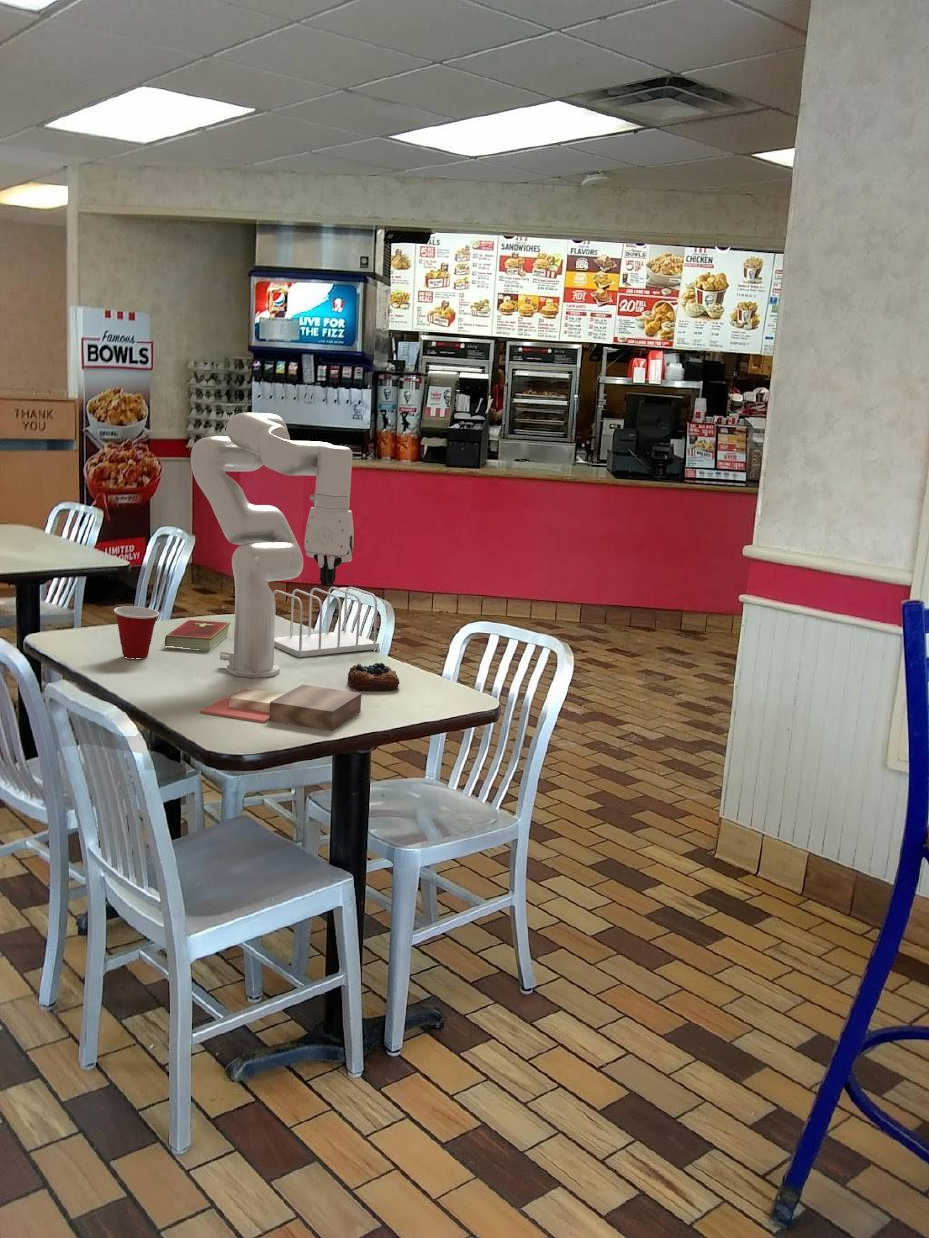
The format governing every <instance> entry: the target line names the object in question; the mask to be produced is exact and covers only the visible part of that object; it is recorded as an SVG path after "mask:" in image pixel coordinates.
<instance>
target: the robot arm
mask: <svg viewBox="0 0 929 1238" xmlns="http://www.w3.org/2000/svg"><path fill="white" fill-rule="evenodd" d="M225 431H226V435H227V436H226V435H225V436H223V435H221V436H220V435H214V436H213V435H212V436H206V437H203V438H202V437H201V438H200V439H198V440H197V441H196V442H195V443H194V445H193V446H192V449H191V451H190V465H191V466H190V467H191V471H192V474H193V476H194V479H195V482H196V483H197V485H198V486H199V488H200V489H201V492H202V493H203V494H204V496H205V497H206V499H207V500H208V502H209V504H210V506H211V508H212V511H213V514H214V516H215V517H216V519H217V522H218V524H219V526H220V528H221V530H222V533H223V534H224V536H225V538H226V539H227V541H228V542H229V543H231V544H233V545H238V547H237V548H236V549H235V550H234V552H233V554H232V557H231V567H232V572H233V573H232V574H233V579H234V587H235V588H234V590H235V591H234V593H235V594H234V595H235V596H234V597H235V598H234V600H235V601H234V631H233V635H234V637H233V650H232V652H231V651H228V650H221V651H220V653H219V660H221V661H227V662H228V663H229V664H228V665H227V666H226V672H227V673H228V674H230V675H232V676H235V677H236V676H237V677H242V678H249V679H250V678H254V679H255V678H256V679H257V678H259V679H260V678H270V677H274V676H276V675H279V674H280V666H279V665H277V664H275V663H274V660H275V659H274V656H275V655H274V653H275V647H274V638H275V633H276V632H275V631H276V630H275V629H276V598H275V596H274V594H273V591H272V589H271V588H270V585H269V583H270V582H277V581H278V582H279V581H288V580H293V579H296V578H297V577H299V576H300V575H301V573H302V572H303V569H304V556H303V553H302V550H301V547H300V545H299V542H298V541H297V539H296V536H295V534H294V533H293V530H292V529H291V527H290V524H289V521H288V520H287V518H286V517H285V515H284V513H283V512H282V511H281V510H280V509H279V508H277V507H276V506H273V505H269V504H258V505H257V504H253V503H250V502H249V500H248V498H247V497H246V495H245V493H244V490H243V488H242V487H241V486H240V484H239V483H238V482H237V481H236V480H235V479H234V478H232V477H231V476H230V475H228V474H227V473H226V472H244V473H246V472H253V471H256V470H259V469H260V468H262V466H264V467H266V468H267V469H270V470H272V471H274V472H277V473H279V474H282V475H285V476H291V477H292V476H297V477H298V476H304V477H305V476H306V477H307V476H310V477H315V478H316V479H315V491H314V494H311V495H310V496H309V501H310V502H313V505H314V506H310V510H309V514H308V518H307V522H306V528H305V534H304V543H303V544H304V545H303V546H304V547H303V548H304V550H305V555H306V557H308V558H310V559H311V558H312V559H314V561H316V563H317V565H318V567H319V569H320V570H319V572H320V573H319V581H320V586H321V587H324V586H325V587H327V588H328V587H329V588H330V587H333V586H334V584H335V582H336V572H337V571H336V570H337V568H338V567H339V566H340V565H341V564H342V563H349V562H351V561H352V560H353V555H352V553H353V551H354V541H355V540H354V538H355V537H354V520H353V512H352V510H350V501H351V499H350V498H351V484H352V469H353V451H352V449H351V448H350V447H347V446H343V445H334V444H332V443H329V442H326V441H325V442H323V441H311V440H291V438H290V434H289V433H290V432H289V431H288V427H287V424H286V422H285V421H284V419H283V418H282V417H280V416H279V415H277V414H274V413H266V412H265V413H264V412H240V413H239V412H238V413H237V414H235V415H233V416H232V417H231V418H230V419H229V420H228V422H227V423H226V430H225Z"/></svg>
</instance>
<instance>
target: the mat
mask: <svg viewBox="0 0 929 1238" xmlns="http://www.w3.org/2000/svg"><path fill="white" fill-rule="evenodd" d="M245 689H246V688H243V689H241V690H239V691H237V692H235V693H233V694H230V695H229V696H227V697H225V698H223V699H221V700H218V701H217V702H215V703H212V704H211V705H208V706H207V707H204V708H202V709H200V711H199V714H205V715H206V714H207V715H213V716H219V717H224V716H226V717H225V718H230V717H232V718H231V719H235V720H236V719H238V720H242V721H243V720H244V721H249V722H257V723H261V722H265V723H266V722H269V712H262V711H255V710H249V709H242V708H235V707H229V703H230V697H232V696H234V695H236V694H238V693H240V692H241V691H243V690H245ZM251 690H253V689H251Z"/></svg>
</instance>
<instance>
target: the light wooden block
mask: <svg viewBox="0 0 929 1238" xmlns="http://www.w3.org/2000/svg"><path fill="white" fill-rule="evenodd" d="M244 689H245V690H243V689H242V690H243V691H241V690H240V691H241V692H240V693H238V694H236V695H234V696H232V697H230V703H229V707H235V708H242V709H249V710H255V711H262V712H270V702H271V701H273V700H274V699H276V698H278V697H280V696H282V695H284V694H285V693H284V694H283V693H277V692H270V691H264V690H258V689H252V690H251V689H250V688H244Z"/></svg>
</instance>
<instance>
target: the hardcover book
mask: <svg viewBox="0 0 929 1238" xmlns="http://www.w3.org/2000/svg"><path fill="white" fill-rule="evenodd" d="M230 625H231V622H229V621H226V622H225V621H213V620H202V619H201V620H199V619H198V620H197V619H188V620H185V622H183V623H182V624H180V625H179V626H178V627H176V628H175V629H173V630H172V631H170V632H169V633H167V634H166V635H165V637H164V647H165V646H174V647H183V648H190V649H199V650H198V651H200V650H208V651H207V652H210V651H211V649H212V648H213V647H214V646H215V645H216V644H217V645H218V643H219V642H220V641H221V640H222V639H223V638H224V639H226V638H227V637H228V636H229V629H230V628H229V626H230ZM227 635H228V636H227ZM226 636H227V637H226ZM224 639H223V640H224ZM223 640H222V641H223ZM222 641H221V642H222ZM221 642H220V643H221ZM217 645H216V646H217ZM216 646H215V647H216ZM215 647H214V648H215ZM214 648H213V649H214ZM213 649H212V650H213Z"/></svg>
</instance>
